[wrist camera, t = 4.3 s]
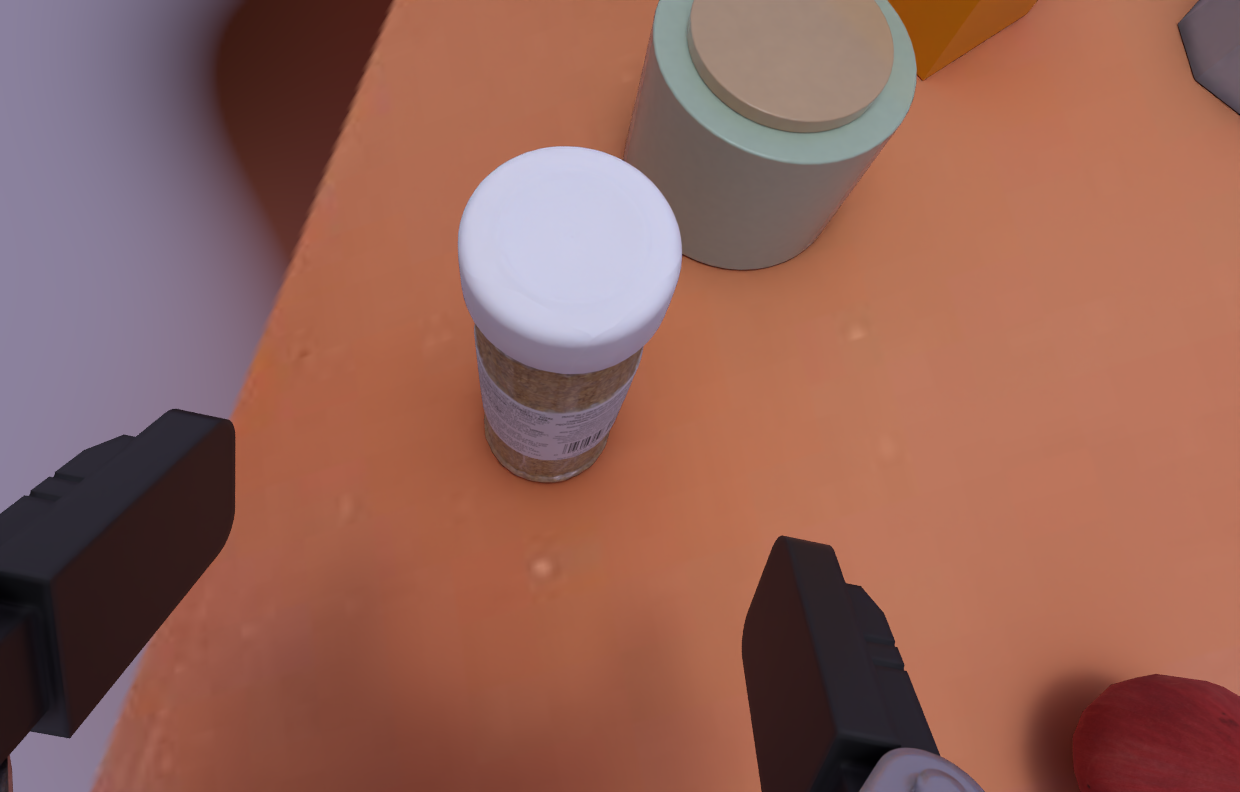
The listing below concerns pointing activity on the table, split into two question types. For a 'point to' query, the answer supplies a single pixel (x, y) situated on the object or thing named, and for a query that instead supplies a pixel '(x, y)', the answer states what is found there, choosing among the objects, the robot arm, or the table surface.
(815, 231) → the pale green cylinder
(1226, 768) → the onion
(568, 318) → the sprinkles bottle
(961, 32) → the orange juice
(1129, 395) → the table surface
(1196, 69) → the coffee maker
